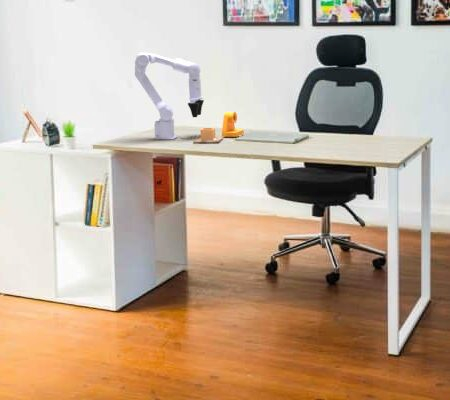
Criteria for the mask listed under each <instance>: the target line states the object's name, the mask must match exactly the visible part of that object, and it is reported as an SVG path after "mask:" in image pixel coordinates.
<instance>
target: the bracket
mask: <svg viewBox="0 0 450 400" xmlns="http://www.w3.org/2000/svg"><path fill="white" fill-rule="evenodd" d="M237 119H238V114H237V112H236V111H225V112H224V114H223V118H222V120H223V121H222V129H221V137H223V138H239V137H238V136H239V135H242V136H243V134H245V130H244V129H242V128H239V129H237V128H236V127H235V124H236V123H237V121H238V120H237Z"/></svg>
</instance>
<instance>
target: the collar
mask: <svg viewBox="0 0 450 400" xmlns="http://www.w3.org/2000/svg"><path fill="white" fill-rule="evenodd" d="M215 137H216V128H215V127H202V128H200V138H201V140H214V139H215Z"/></svg>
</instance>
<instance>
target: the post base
mask: <svg viewBox="0 0 450 400" xmlns="http://www.w3.org/2000/svg"><path fill="white" fill-rule="evenodd" d="M223 140H224V136H221V137H217V136H215V139H214V140H201V137H198V138H196V139H195V140H194V141H193V144H195V145H196V144H197V145H198V144H199V145H200V144H201V145H203V144H205V145H207V144H209V145H210V144H215V145H216V144H217V145H218V144H220V143H221V142H222V141H223Z"/></svg>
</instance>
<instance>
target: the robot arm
mask: <svg viewBox="0 0 450 400" xmlns="http://www.w3.org/2000/svg"><path fill="white" fill-rule="evenodd" d="M149 63H150V64H155V63H158V64H161V65H165V66H169V67H172V70H173V71H176V72H180V73H183V74H188V90H189V91H188V92H189V101H190V102H187V106H188V107H189V109H190V112H191V113H190V114H191V116H192V118H197V117H198V116H200V115H202V109H203V108H202V107H203V104H204V101H205V100H204V99H205V97H204V96H202V83H201V74H200V73H201V69H200V66H199V64H197V63H195V62H192V61H187V60H185V59H184V60H183V58H182V57H179V58H175V59H171V58H169V57H164V56H161V55H158V54H155V53H149V52H148V53H147V52H144V51H142V52H139V53H138V54H137V55H136V58H135V61H134V76H135V78H136V79H137V81H138V82H139V84H140V85H141V87H142V88H143V90H144V91H145V92H146V94H147V95H148V97H149V98H150V100H151V101H152V103H153V104H154V106H155V108H156V109H157V110H158V113H159V117H160V118H159V120H155V122H154V127H153V128H154V140H175V139H176V138H177V137H178V136H177V135H176V134H175V119H174V118H173V116H174V112H173V109H172V108H171V106H169V105H167V104H166V102H165V101H164V100H163V98H162V97H161V95H160V94H159V92H158V90H157V89H156V88H155V86H154V85H153V83H152V81H151V80H150V79H149V77H148V76H147V74H146V70H147V67H148V66H149Z"/></svg>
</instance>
